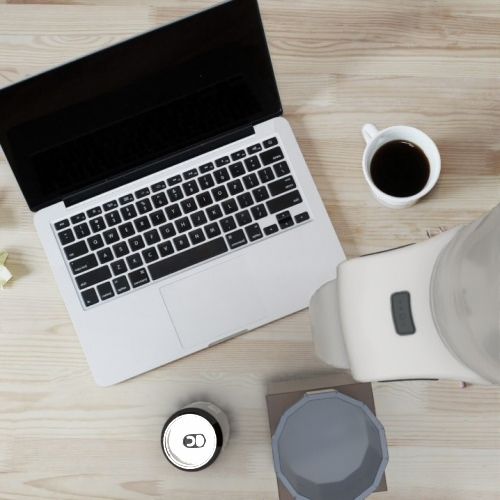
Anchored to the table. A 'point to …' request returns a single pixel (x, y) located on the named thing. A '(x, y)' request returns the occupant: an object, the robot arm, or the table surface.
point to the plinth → (291, 389)
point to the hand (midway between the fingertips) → (451, 313)
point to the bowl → (329, 447)
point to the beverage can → (195, 436)
